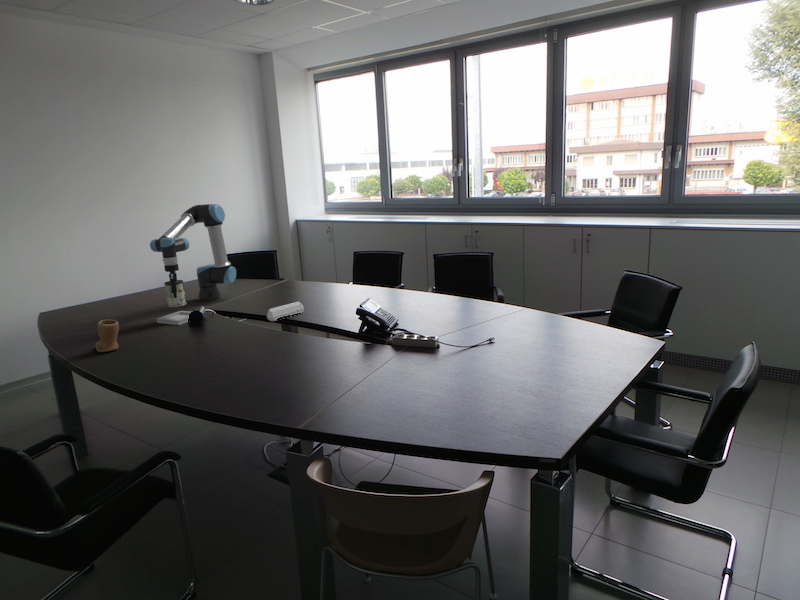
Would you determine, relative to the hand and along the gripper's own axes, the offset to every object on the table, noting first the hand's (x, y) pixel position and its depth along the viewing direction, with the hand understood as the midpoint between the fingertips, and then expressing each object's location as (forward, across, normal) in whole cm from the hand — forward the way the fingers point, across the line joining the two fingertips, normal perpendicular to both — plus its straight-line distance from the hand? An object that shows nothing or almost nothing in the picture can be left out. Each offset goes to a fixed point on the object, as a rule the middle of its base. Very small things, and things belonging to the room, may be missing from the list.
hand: (177, 301), depth 311 cm
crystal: (+12, +28, +59) cm, 66 cm away
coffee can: (+2, 0, 0) cm, 2 cm away
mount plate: (+11, 0, 0) cm, 11 cm away
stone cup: (+12, +41, -31) cm, 53 cm away
